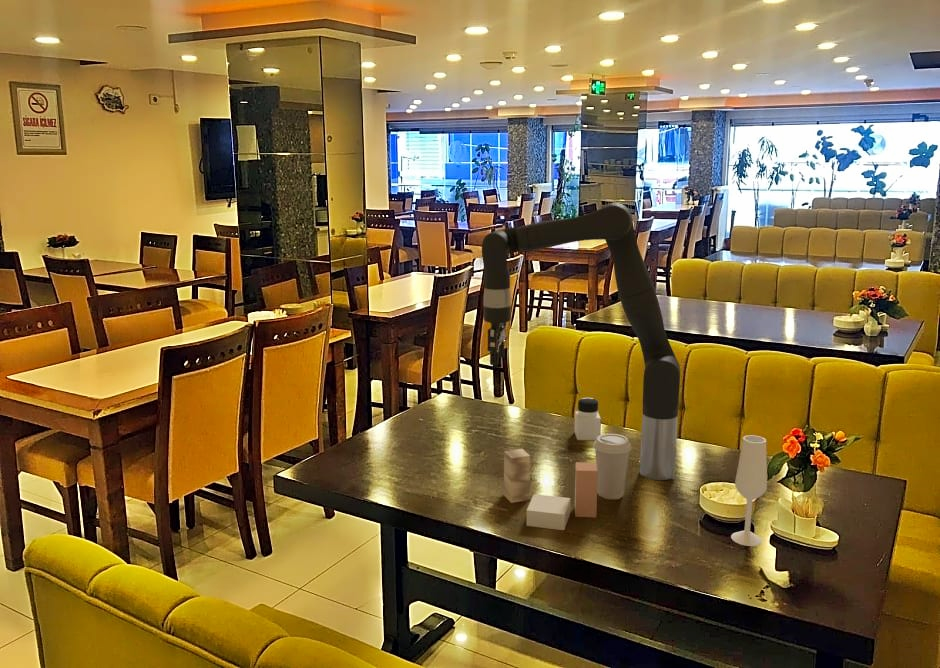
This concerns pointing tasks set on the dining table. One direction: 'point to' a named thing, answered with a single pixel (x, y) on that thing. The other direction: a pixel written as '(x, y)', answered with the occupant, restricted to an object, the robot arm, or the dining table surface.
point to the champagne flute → (751, 482)
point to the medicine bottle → (587, 420)
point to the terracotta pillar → (586, 489)
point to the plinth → (548, 512)
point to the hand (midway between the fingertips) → (497, 360)
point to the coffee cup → (611, 464)
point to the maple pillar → (516, 475)
